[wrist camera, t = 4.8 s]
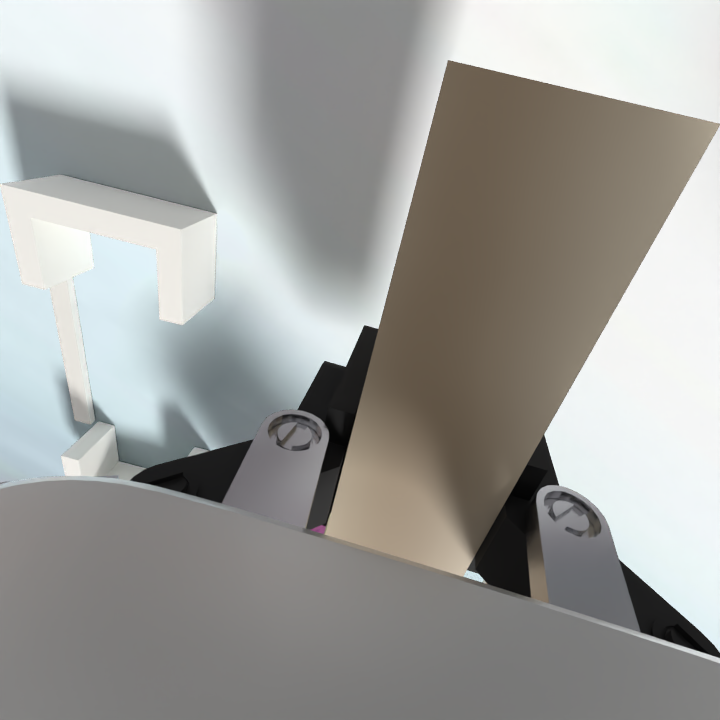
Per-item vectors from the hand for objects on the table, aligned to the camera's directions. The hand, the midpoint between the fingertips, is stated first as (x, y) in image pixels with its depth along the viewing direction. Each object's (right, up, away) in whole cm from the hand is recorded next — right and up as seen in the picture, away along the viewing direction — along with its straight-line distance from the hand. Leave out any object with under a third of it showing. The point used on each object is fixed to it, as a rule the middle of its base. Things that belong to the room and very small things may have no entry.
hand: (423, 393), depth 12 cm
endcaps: (-13, +1, +11) cm, 17 cm away
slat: (0, +1, +2) cm, 2 cm away
